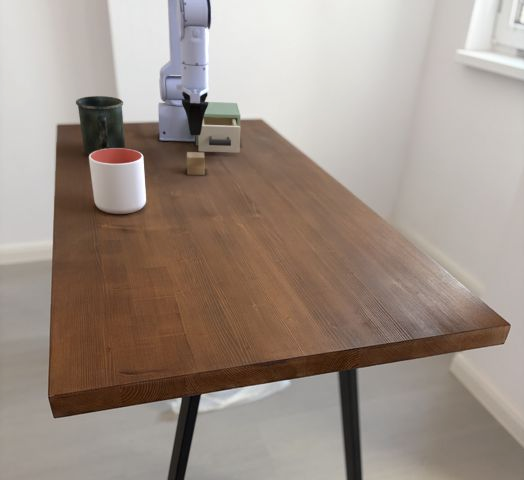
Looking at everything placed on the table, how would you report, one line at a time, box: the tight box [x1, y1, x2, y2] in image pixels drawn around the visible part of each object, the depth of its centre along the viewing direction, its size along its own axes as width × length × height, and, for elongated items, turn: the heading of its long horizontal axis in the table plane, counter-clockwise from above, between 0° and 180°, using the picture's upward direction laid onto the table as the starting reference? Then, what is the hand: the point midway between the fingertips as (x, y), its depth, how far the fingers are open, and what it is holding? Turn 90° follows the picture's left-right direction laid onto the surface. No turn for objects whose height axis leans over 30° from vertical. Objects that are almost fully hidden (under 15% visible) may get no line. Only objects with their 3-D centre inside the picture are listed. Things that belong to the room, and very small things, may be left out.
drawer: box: [198, 117, 241, 154], centre depth 141 cm, size 17×10×6 cm, turn 6°
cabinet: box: [195, 101, 241, 147], centre depth 150 cm, size 14×12×8 cm
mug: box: [75, 95, 126, 157], centre depth 131 cm, size 11×15×12 cm
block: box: [186, 151, 205, 176], centre depth 128 cm, size 4×4×4 cm
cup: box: [88, 148, 147, 215], centre depth 107 cm, size 10×10×10 cm
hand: (195, 130), depth 123 cm, fingers open, 6 cm apart
